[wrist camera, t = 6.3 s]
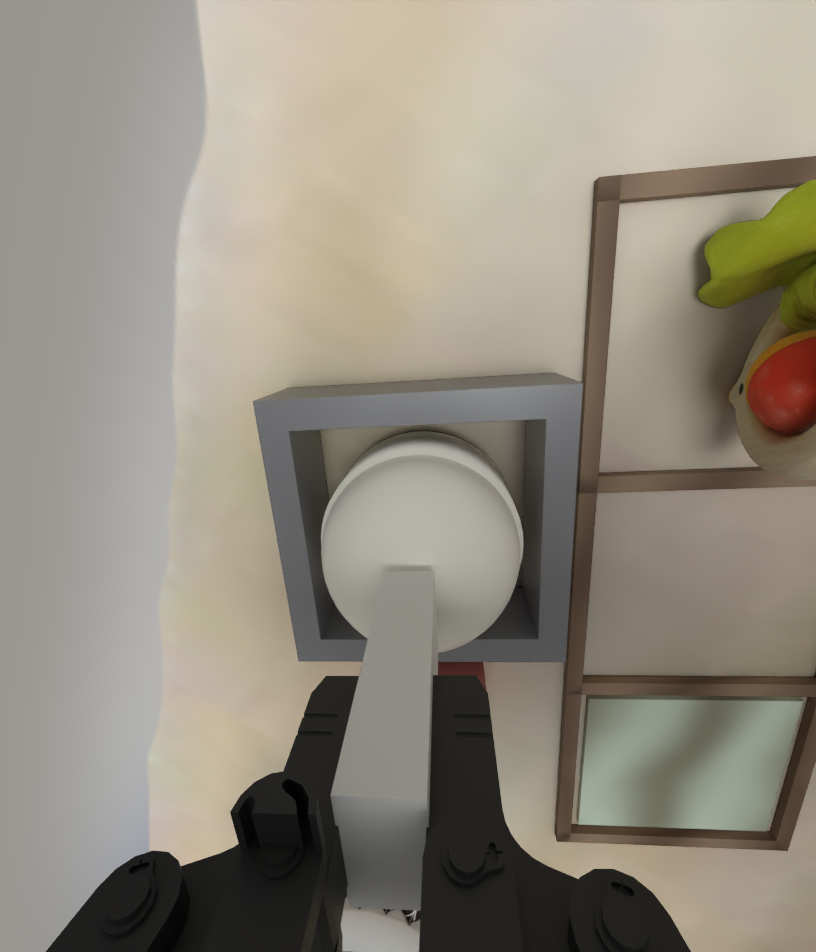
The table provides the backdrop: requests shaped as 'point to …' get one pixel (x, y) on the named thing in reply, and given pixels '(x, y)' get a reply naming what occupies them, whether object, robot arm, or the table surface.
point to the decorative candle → (379, 929)
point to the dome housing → (422, 403)
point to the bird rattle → (774, 330)
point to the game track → (672, 698)
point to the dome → (424, 532)
